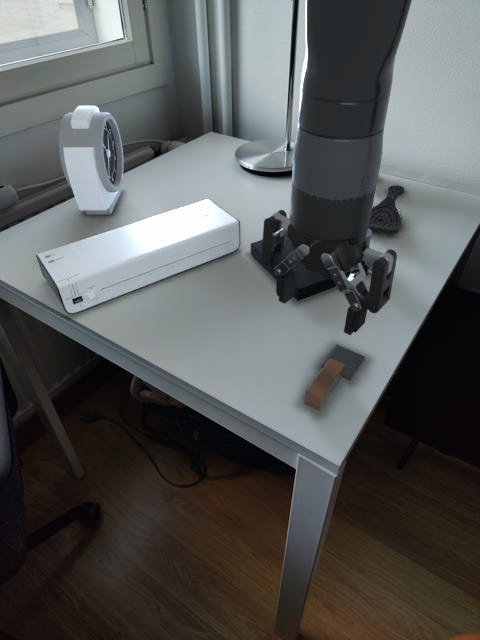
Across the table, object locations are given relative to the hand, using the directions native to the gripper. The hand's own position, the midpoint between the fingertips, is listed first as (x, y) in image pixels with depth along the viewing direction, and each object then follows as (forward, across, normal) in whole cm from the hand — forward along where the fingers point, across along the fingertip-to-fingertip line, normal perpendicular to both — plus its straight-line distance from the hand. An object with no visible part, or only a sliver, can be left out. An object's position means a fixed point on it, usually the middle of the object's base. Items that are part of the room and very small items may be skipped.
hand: (317, 314), depth 52 cm
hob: (+14, +16, -27) cm, 35 cm away
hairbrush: (+15, +14, -52) cm, 56 cm away
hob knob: (+12, +10, -30) cm, 34 cm away
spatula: (+14, -1, -5) cm, 15 cm away
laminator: (+15, +39, -7) cm, 42 cm away
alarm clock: (+15, +66, -18) cm, 70 cm away
